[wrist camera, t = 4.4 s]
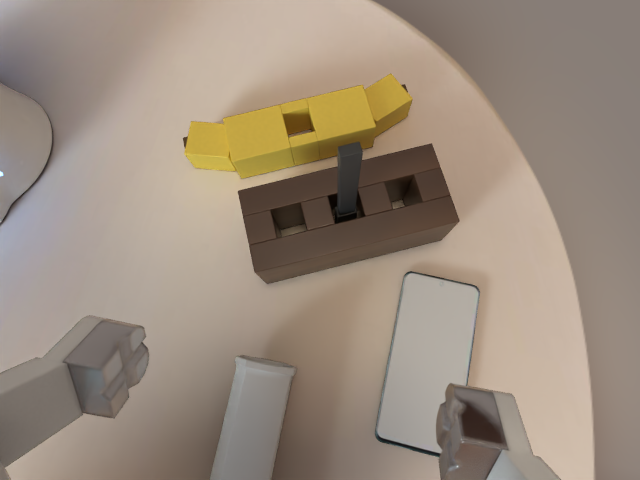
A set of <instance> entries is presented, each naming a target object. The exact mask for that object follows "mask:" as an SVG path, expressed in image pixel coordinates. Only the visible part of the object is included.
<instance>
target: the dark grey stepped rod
mask: <svg viewBox="0 0 640 480" xmlns="http://www.w3.org/2000/svg"><path fill="white" fill-rule="evenodd" d="M362 153H363V151H362V148H361V145H360V142H355V143H351V144H347V145H343V146H339V147H338V185H337V207H335V224H337V223H341V222H345V221H349V220H353V219H356V218H357V209H356V199H357V191H358V184H359V176H360V169H361V161H362Z"/></svg>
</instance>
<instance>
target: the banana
mask: <svg viewBox="0 0 640 480" xmlns="http://www.w3.org/2000/svg"><path fill="white" fill-rule="evenodd" d="M411 103H412V97H411V96H410V95H409V94H408V91H407V89H406V86H405V84H404V85H401V84H400V83H399V82H398V81H397V80H396V79H395V77H394V76H393V75H392V74H389V75H387V76H386V77H384V78H383V79H381V80H379V81H378V82H376V83H375V84H373V85H371V86H370V87H368V88H366V89H365V90H364V87H363V85H359V86H355V87H351V88H347V89H343V90H338V91H334V92H330V93H326V94H322V95H318V96H314V97H309V98H307V99H306V98H304V99H300V100H296V101H292V102H288V103H284V104H280V105H276V106H272V107H268V108H264V109H259V110H255V111H251V112H247V113H243V114H239V115H234V116H230V117H226V118H223V121H224V124H220V123H207V122H194V121H191V125H190V129H189V134H188V137H184V138H183V141H184V147H185V153H184V154H185V155H186V157H187V158H188V159H189V161H190V162H191V163H192V164H193V166H194V167H195V168H202V169H214V170H226V171H236V170H237V171H238V173H239V175H240V177H241V178H242V179H243V178H247V177H251V176H255V175H259V174H263V173H267V172H271V171H275V170H279V169H283V168H288V167H292V166H296V165H300V164H305V163H309V162H313V161H317V160H319V159H324V158H328V157H333V156H337V155H338V147H339V146H343V145H347V144H351V143H355V142H360V145H361V148H362V149H365V148H369V147H373V141H374V137H376V136H377V135H379V134H381V133H382V132H384V131H385V130H387V129H388V128H390V127H392V126H393V125H395V124H396V123H398V122H399V121H401V120H403V119H404V118H406V117H407V116H408V112H409V109H410V106H411ZM309 129H311V130H312V132H309V133H305V134H301V135H297V136H293V137H288V134H292V133H297V132H301V131H305V130H309Z"/></svg>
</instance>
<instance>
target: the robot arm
mask: <svg viewBox="0 0 640 480" xmlns="http://www.w3.org/2000/svg"><path fill="white" fill-rule="evenodd" d="M51 146H52V128H51V124H50V121H49V118H48V116H47V114H46V113H45V111H44V110H43V108H42V107H41V106H40V105H39V104H38V103H37V102H36V101H34V100H33V99H31V98H30V97H28V96H26V95H23V94H21V93H19V92H17V91H14V90H12V89H10V88H9V87H7V86H5V85H3V84H1V83H0V223H1V222H2V220H3V218H4V217H5V215H6V213H7V212H8V210H9V208H10V206H11V204H12V203H13V202H14V201H15V200H16V199H17V198H18V197H19V196H20V195H22V194H23V193H24V192H25V191H26V190H27V189H28V188H29V187H30V186H31V185H32V184H33V183H34V182H35V180H36V179H37V178H38V177H39V175H40V174H41V172H42V170H43V169H44V167H45V165H46V163H47V160H48V158H49V155H50V151H51ZM145 337H146V334H145V330H144V327H142V326H139V325H134V324H130V323H125V322H120V321H116V320H111V319H105V318H100V317H95V316H91V315H89V316H86V317H84V318H82V319H81V320H80V321H79V322H78V323H77V324H76V325H75V326H74V327H73V328H72V329H71V330H70V331H69V332H68V333H67V334H66V335H65V336H64V337H63V338H62V339H61V340H60V341H59V342H58V343H57V344H56V345H55V346H54V347H53V348H52V349H51V350H50V351H49V352H48V353H47V354H46V355H45V356H44V357H43V358H37V357H36V358H34V359H31V360H29V361H27V362H25V363H22V364H20V365H18V366H15V367H13V368H11V369H8V370H6V371H4V372H2V373H0V480H11V479H10V477H9V475H8V473H7V471H6V469H5V467H7V466H8V465H10V464H11V463H13V462H14V461H15V460H17V459H18V458H20V457H21V456H23V455H24V454H26V453H27V452H29V451H30V450H32V449H33V448H35V447H36V446H38V445H39V444H41V443H42V442H44V441H45V440H47V439H48V438H49V437H51V436H52V435H54V434H55V433H57V432H58V431H60V430H61V429H63V428H64V427H66V426H67V425H69V424H70V423H72V422H73V421H75V420H76V419H78V418H79V417H80V416H82V415H83V413H86V414H92V415H97V416H103V417H109V418H115V417H116V416H117V414H118V413H119V411H120V410H121V408H122V407H123V405H124V404H125V402H126V401H127V399H128V398H129V391H128V389H129V388H131V387H133V386H135V385H136V384H138V383H139V382H140V380H141V379H142V377H143V376H144V374H145V371H146V368H147V366H148V361H149V352H148V348H147V347H146V346H145V345H144V344H143V342H142V341H143V340H144V339H145ZM445 399H446V401H445V402H444V403H442V404H440V407H439V410H438V413H437V419H436V440H437V444H438V445H439V446H440V448H441V449H442V452H441V454H440V457H439V469H440V478H441V480H561V479H560V478H559V477H558V476H557V475H556V474H555V473H554V472H553V470H552V469H551V468H550V467H549V466H548V465H547V464H546V463H545V462H544V461H543V460H542V459H541V457H538V456H534V455H533V452H532V449H531V446H530V443H529V440H528V437H527V434H526V431H525V428H524V425H523V422H522V419H521V416H520V412H519V409H518V406H517V403H516V400H515V397H514V396H513V395H512V394H509V393H504V392H498V391H493V390H488V389H482V388H476V387H471V386H465V385H459V384H453V383H450V384H449V385H448V386H447V388H446V391H445Z"/></svg>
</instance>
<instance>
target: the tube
mask: <svg viewBox="0 0 640 480" xmlns="http://www.w3.org/2000/svg"><path fill="white" fill-rule="evenodd" d="M235 363H236V364H237V366H236V372H235V376H234V380H233V384H232V388H231V392H230V397H229V401H228V405H227V409H226V413H225V417H224V422H223V426H222V430H221V434H220V438H219V442H218V447H217V451H216V455H215V459H214V463H213V467H212V472H211V476H210V480H271V478H272V474H273V469H274V464H275V459H276V454H277V449H278V445H279V440H280V435H281V430H282V425H283V420H284V416H285V411H286V406H287V401H288V396H289V392H290V387H291V382H292V378H293V375H295V374H296V371H297V367H294V366H291V365H288V364H285V363H281V362H276V361H272V360H267V359H262V358H256V357H250V356H244V355H241V356H236V359H235Z"/></svg>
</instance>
